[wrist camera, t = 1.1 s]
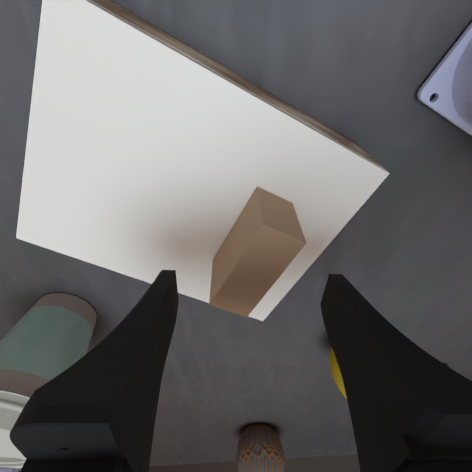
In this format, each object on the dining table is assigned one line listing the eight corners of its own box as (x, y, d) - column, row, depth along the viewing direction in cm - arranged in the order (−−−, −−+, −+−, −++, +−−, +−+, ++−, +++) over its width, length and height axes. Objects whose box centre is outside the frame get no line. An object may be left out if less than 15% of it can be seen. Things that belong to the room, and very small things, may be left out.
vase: (227, 429, 46) (226, 503, 39) (259, 414, 43) (264, 491, 36) (257, 442, 49) (261, 513, 42) (289, 428, 46) (300, 502, 39)
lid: (383, 168, 17) (429, 209, 13) (261, 313, 24) (267, 368, 20) (55, -20, 12) (-30, -44, 8) (23, 230, 19) (-31, 282, 15)
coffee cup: (3, 301, 29) (-113, 439, 19) (64, 269, 27) (-32, 407, 17) (70, 347, 33) (3, 478, 24) (128, 322, 31) (80, 457, 21)
